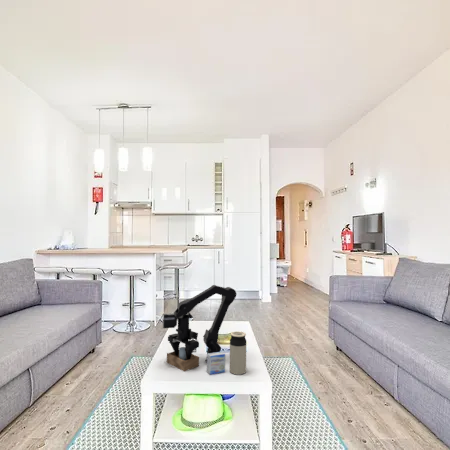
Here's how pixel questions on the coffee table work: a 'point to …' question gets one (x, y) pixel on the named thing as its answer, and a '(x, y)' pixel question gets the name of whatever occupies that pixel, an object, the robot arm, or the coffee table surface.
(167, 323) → the robot arm
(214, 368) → the medicine box
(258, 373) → the coffee table surface
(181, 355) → the peg
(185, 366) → the caddy
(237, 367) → the travel mug
